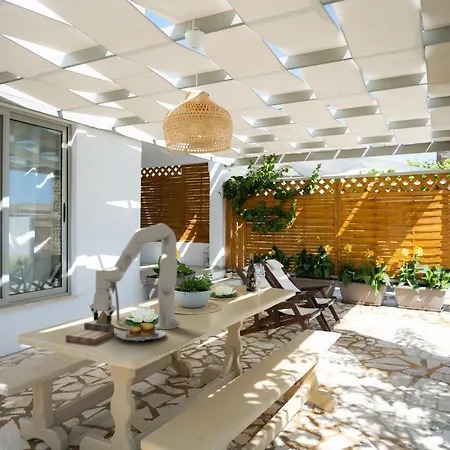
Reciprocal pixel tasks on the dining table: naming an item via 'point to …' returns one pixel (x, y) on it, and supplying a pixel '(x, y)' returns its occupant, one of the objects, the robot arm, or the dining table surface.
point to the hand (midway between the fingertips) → (102, 321)
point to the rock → (103, 319)
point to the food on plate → (141, 333)
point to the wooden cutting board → (92, 333)
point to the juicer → (114, 287)
